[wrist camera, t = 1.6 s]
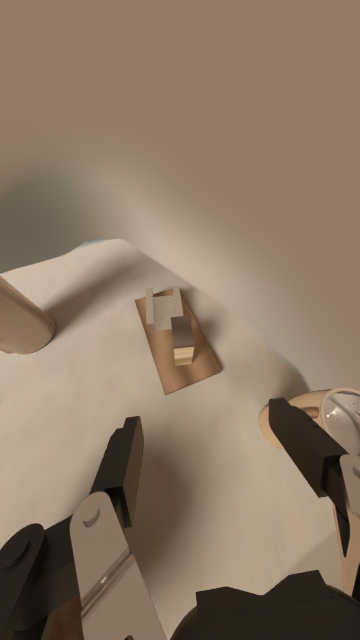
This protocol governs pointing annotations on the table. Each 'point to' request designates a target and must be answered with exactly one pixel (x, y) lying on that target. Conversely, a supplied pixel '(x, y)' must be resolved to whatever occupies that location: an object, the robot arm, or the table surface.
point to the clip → (162, 309)
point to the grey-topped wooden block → (182, 339)
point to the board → (164, 352)
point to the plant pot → (68, 621)
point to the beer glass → (326, 416)
